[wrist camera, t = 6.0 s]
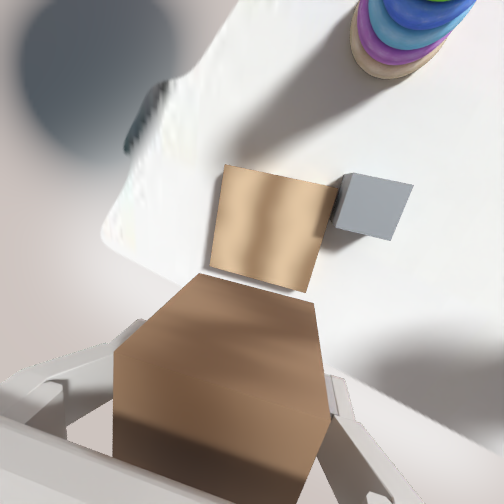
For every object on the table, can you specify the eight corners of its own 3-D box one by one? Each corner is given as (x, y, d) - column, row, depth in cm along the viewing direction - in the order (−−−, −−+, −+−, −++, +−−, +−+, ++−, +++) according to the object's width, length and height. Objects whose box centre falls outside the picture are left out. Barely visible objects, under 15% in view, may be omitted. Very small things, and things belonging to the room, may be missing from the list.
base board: (335, 187, 25) (338, 188, 23) (305, 284, 29) (305, 293, 27) (231, 165, 27) (224, 164, 25) (216, 259, 31) (209, 266, 29)
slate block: (392, 184, 24) (413, 185, 20) (375, 230, 26) (390, 240, 21) (344, 174, 25) (353, 172, 20) (330, 219, 27) (335, 227, 22)
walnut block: (313, 303, 10) (331, 420, 5) (284, 393, 11) (276, 550, 6) (199, 273, 10) (113, 351, 5) (186, 363, 12) (112, 486, 7)
